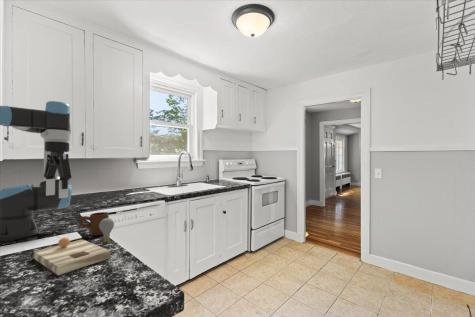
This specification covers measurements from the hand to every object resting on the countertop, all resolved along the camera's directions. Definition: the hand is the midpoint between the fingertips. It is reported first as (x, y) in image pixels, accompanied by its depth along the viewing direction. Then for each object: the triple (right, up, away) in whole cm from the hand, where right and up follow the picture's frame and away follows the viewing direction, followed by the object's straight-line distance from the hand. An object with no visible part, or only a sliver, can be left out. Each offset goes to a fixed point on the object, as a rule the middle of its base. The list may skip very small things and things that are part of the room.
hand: (56, 196), depth 89 cm
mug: (+4, -21, +17) cm, 27 cm away
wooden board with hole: (+13, -20, -10) cm, 26 cm away
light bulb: (+16, -21, +7) cm, 27 cm away
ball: (+7, -16, -6) cm, 18 cm away
